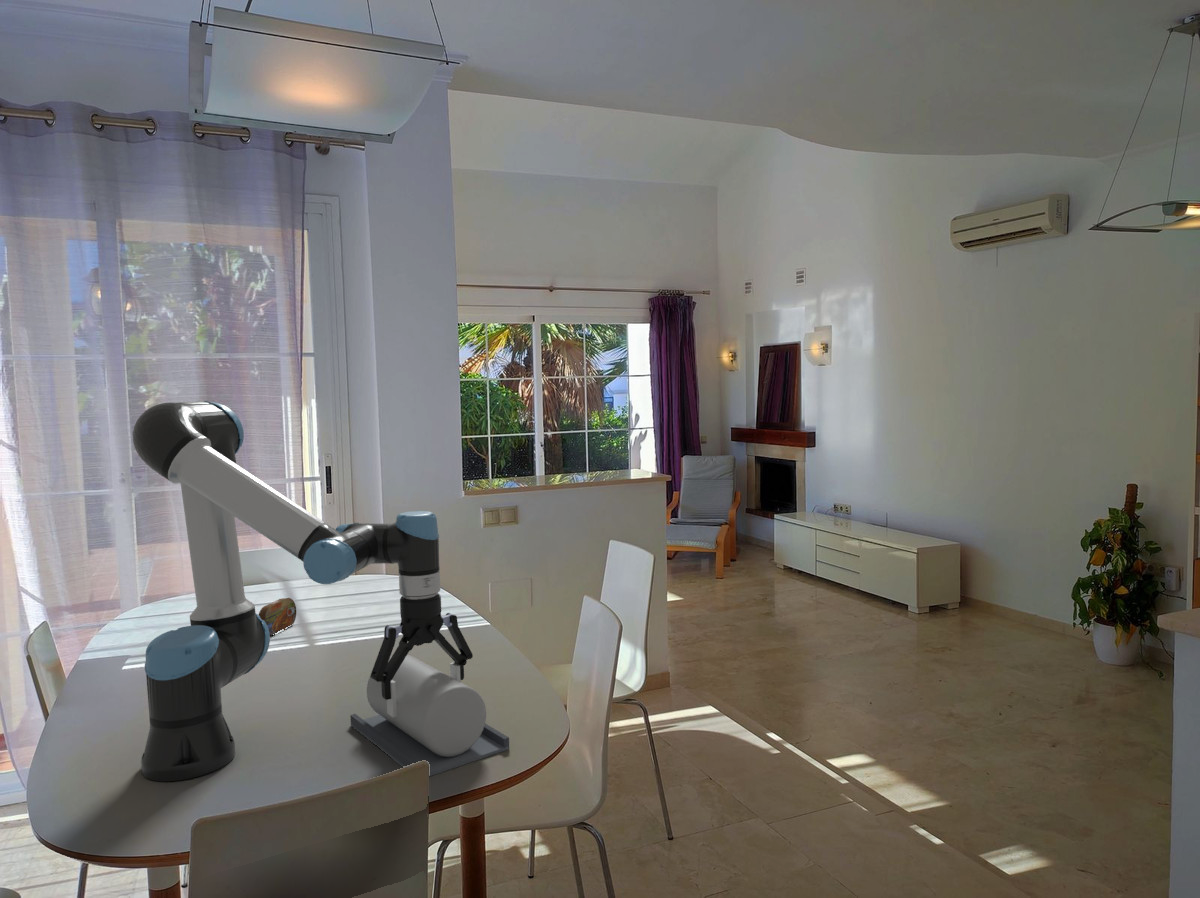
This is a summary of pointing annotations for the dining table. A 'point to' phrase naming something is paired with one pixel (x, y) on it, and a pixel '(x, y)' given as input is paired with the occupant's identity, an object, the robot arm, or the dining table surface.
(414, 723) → the cylinder vase
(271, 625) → the tin
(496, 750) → the mat
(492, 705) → the dining table surface
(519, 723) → the dining table surface
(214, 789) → the dining table surface
